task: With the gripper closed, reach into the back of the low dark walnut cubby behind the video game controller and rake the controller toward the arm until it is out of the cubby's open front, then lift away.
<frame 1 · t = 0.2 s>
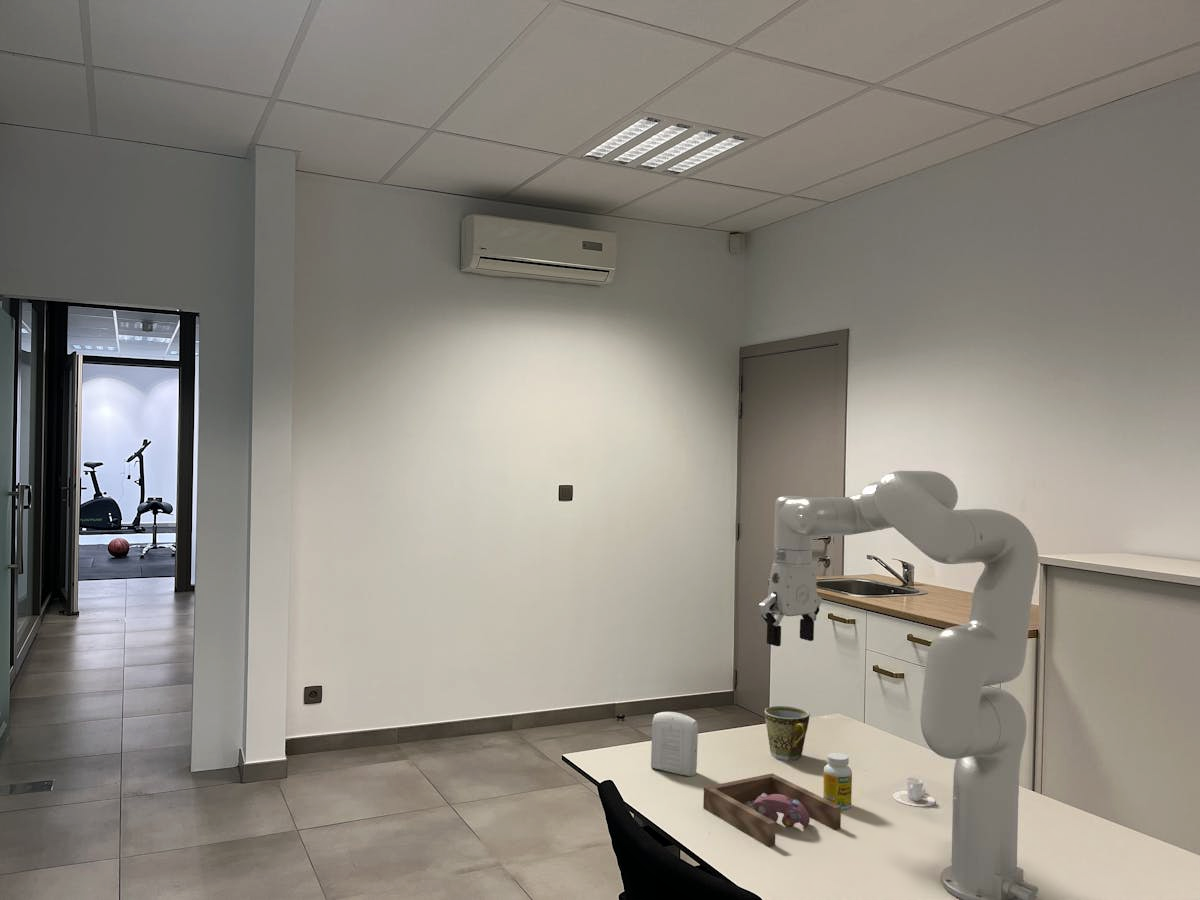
hand: (790, 642, 181), 30 cm above the table, tool pointing down, fingers open, 9 cm apart
ceramic cup: (789, 759, 202), on the table
supplement bottle: (837, 806, 175), on the table
photo printer: (673, 771, 193), on the table
teacup and saucer: (929, 802, 180), on the table
video game controller: (781, 825, 166), on the table
cubby: (770, 818, 168), on the table
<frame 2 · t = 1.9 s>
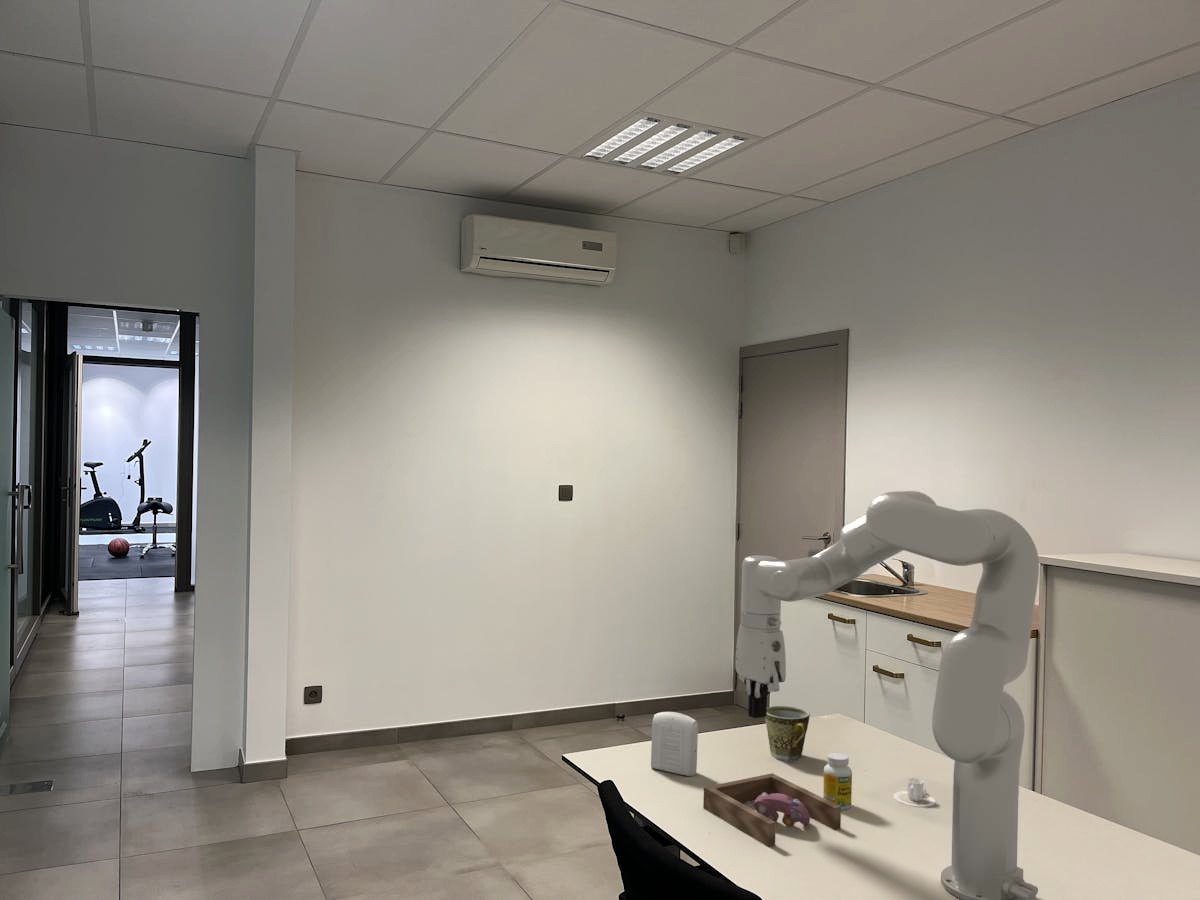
hand: (757, 716, 172), 18 cm above the table, tool pointing down, fingers closed
nothing on the table moved.
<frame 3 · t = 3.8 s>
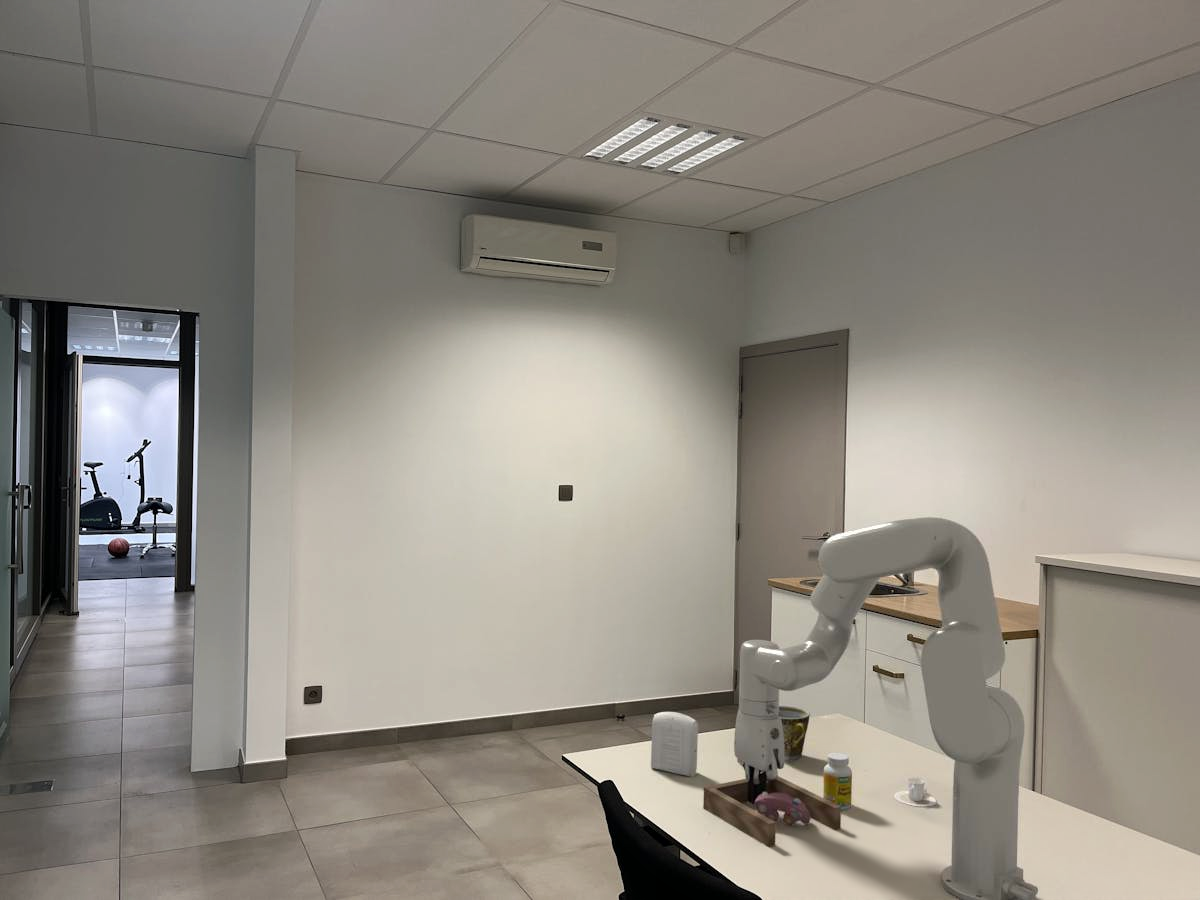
hand: (756, 801, 172), 2 cm above the table, tool pointing down, fingers closed
video game controller: (781, 823, 167), on the table, touching gripper
everything else where it was.
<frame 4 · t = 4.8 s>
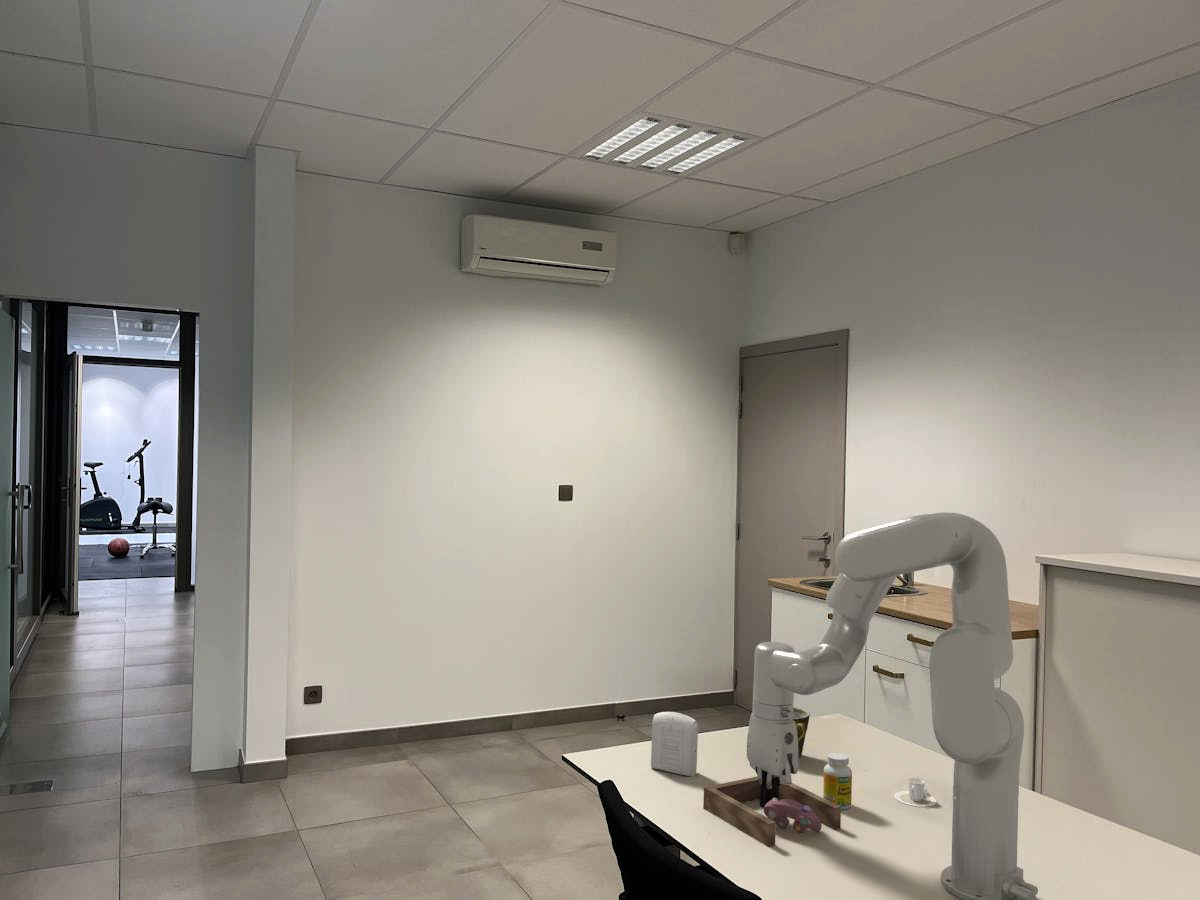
hand: (768, 806, 169), 2 cm above the table, tool pointing down, fingers closed
video game controller: (792, 831, 163), on the table, touching gripper
everything else where it was.
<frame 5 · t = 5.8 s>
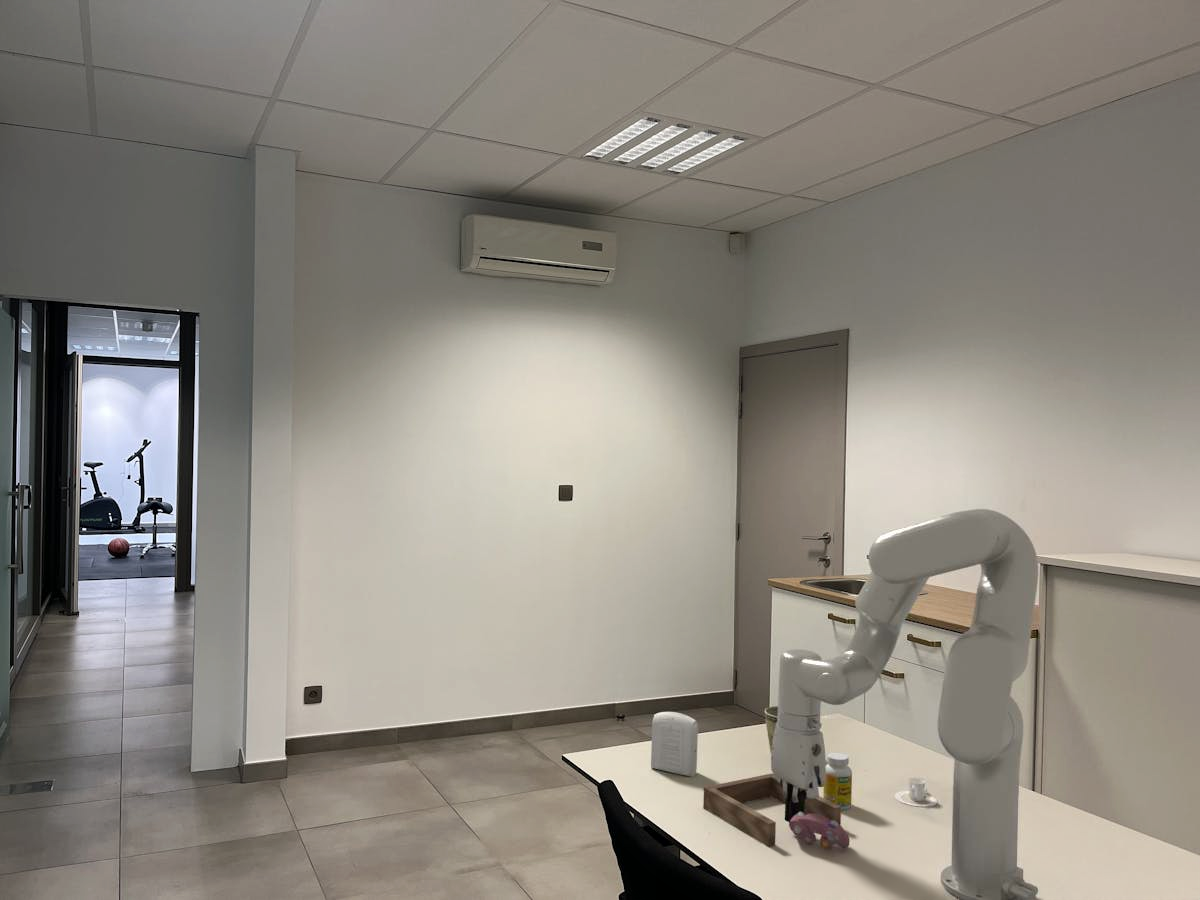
hand: (794, 820, 162), 2 cm above the table, tool pointing down, fingers closed
video game controller: (818, 846, 157), on the table, touching gripper
everything else where it was.
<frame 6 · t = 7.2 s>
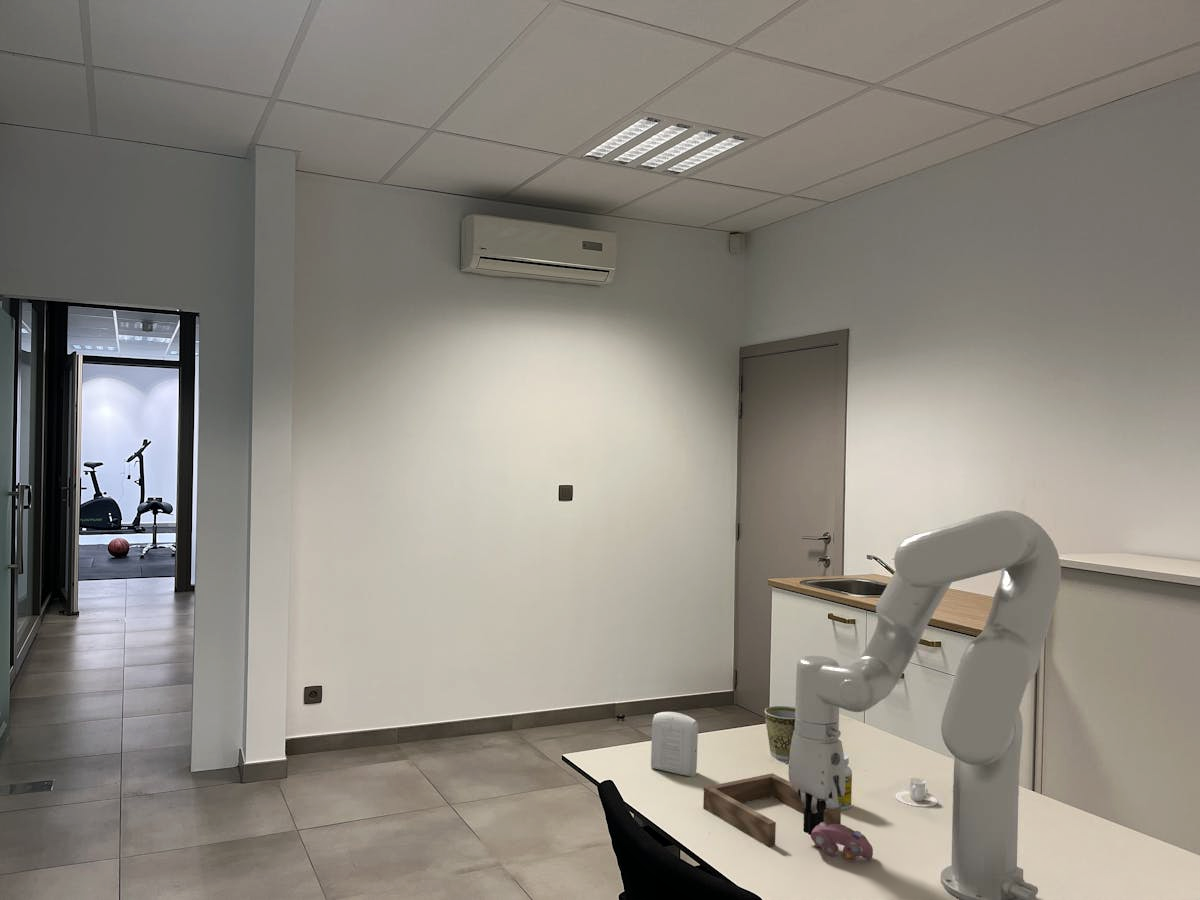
hand: (813, 832, 158), 2 cm above the table, tool pointing down, fingers closed
video game controller: (841, 858, 153), on the table, touching gripper
everything else where it was.
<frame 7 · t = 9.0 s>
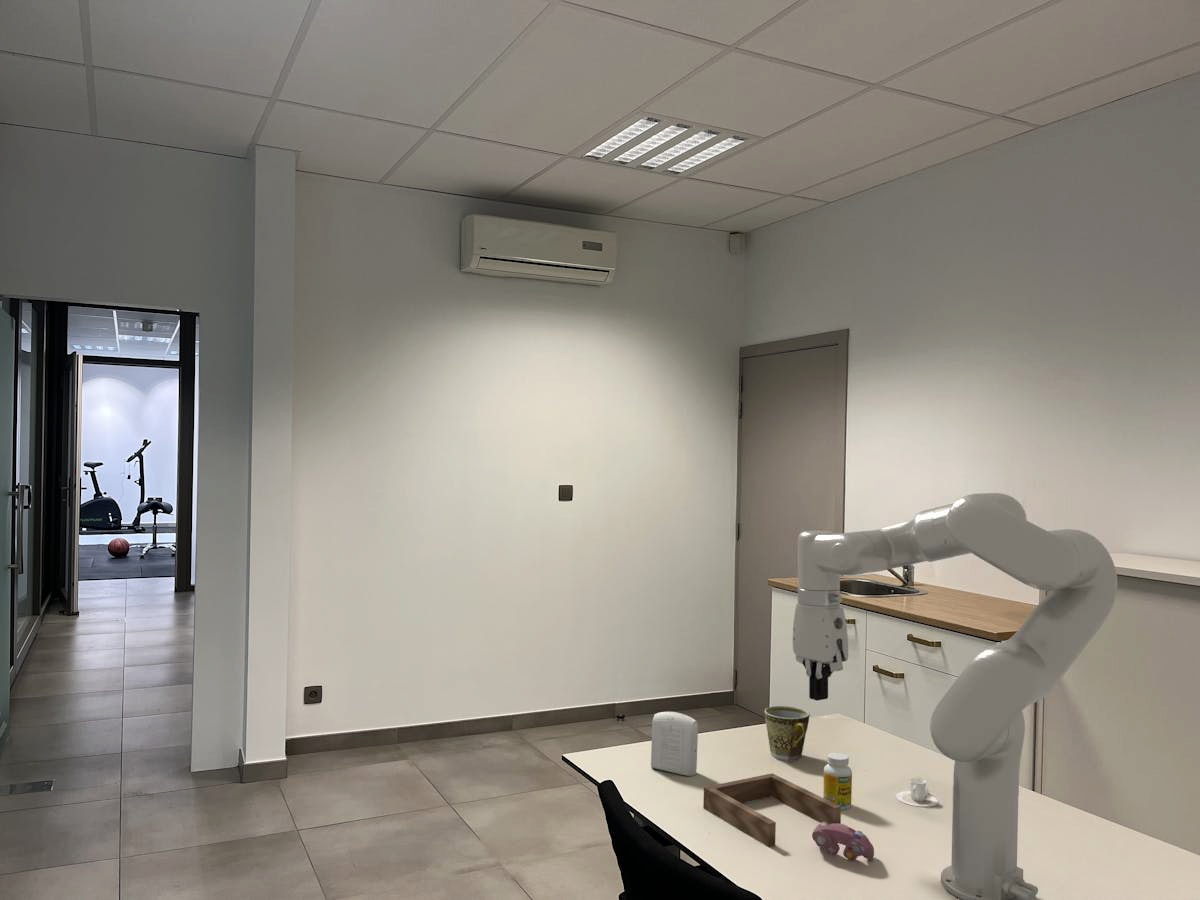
hand: (818, 698, 165), 24 cm above the table, tool pointing down, fingers closed
video game controller: (842, 857, 153), on the table
everything else where it was.
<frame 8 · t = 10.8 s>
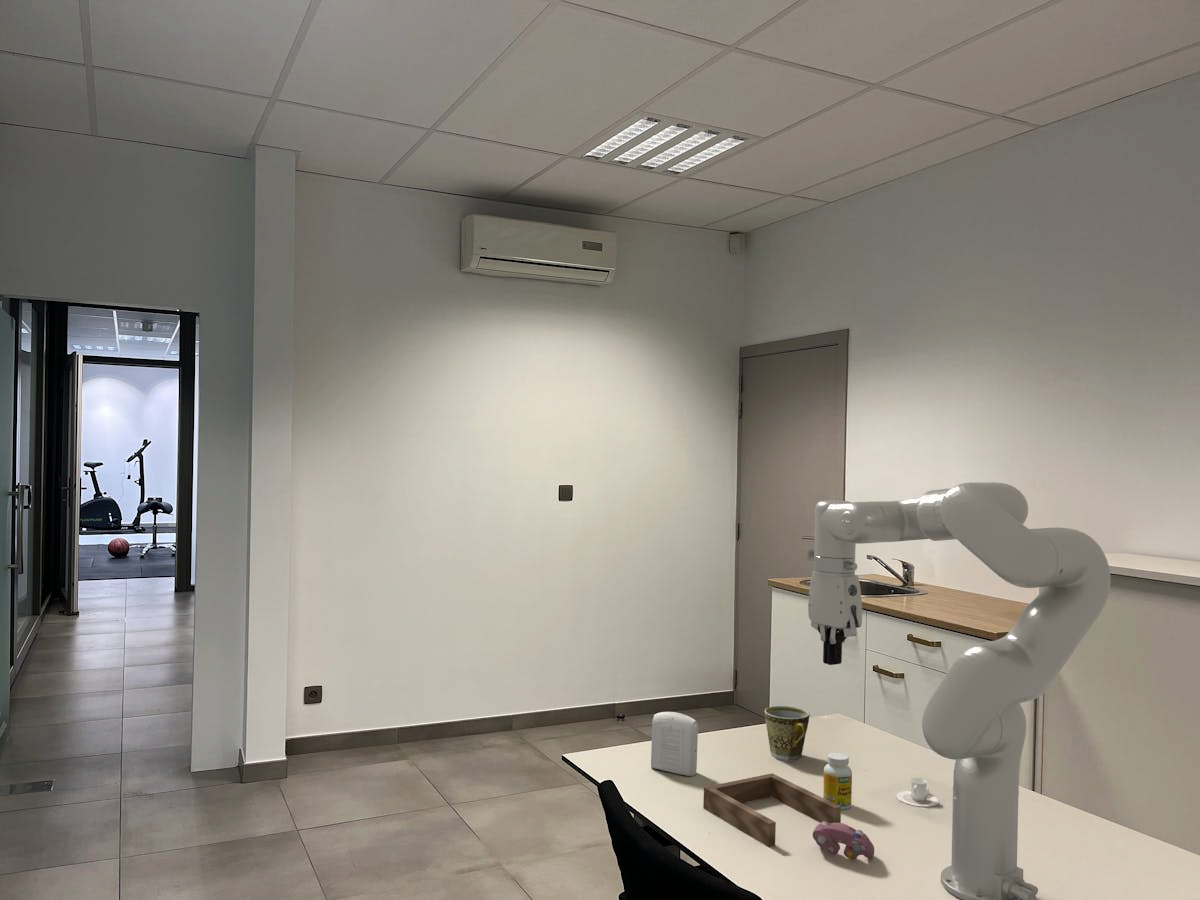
hand: (832, 663, 169), 29 cm above the table, tool pointing down, fingers closed
nothing on the table moved.
at the end: video game controller inside the target area (2.3 cm from its centre), on the table; video game controller tilted 2°; the gripper is holding nothing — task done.
